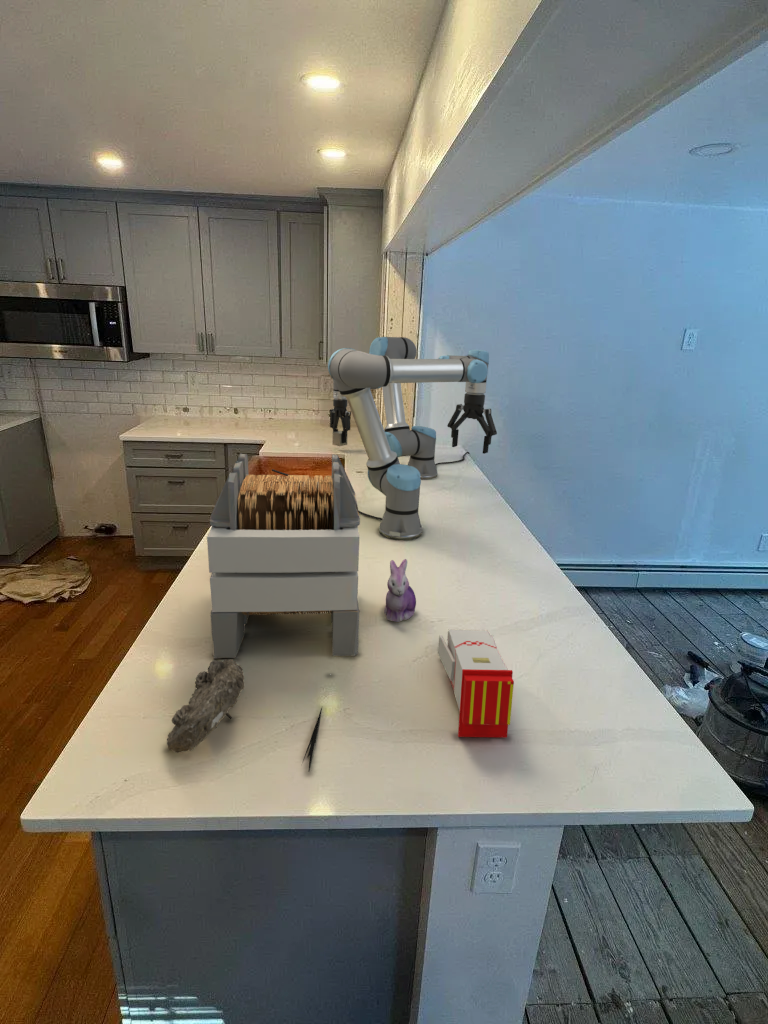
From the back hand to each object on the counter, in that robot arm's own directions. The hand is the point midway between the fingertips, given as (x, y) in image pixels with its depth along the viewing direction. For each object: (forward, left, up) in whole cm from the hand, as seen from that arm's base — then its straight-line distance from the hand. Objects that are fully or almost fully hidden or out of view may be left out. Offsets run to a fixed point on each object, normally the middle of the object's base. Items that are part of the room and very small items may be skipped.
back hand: (339, 441), depth 309 cm
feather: (+161, +142, -5) cm, 215 cm away
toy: (+134, +160, -5) cm, 209 cm away
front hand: (+37, +101, +20) cm, 109 cm away
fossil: (+174, +127, -5) cm, 215 cm away
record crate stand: (+140, +111, -5) cm, 179 cm away
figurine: (+119, +130, -5) cm, 176 cm away
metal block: (0, 0, -2) cm, 2 cm away
